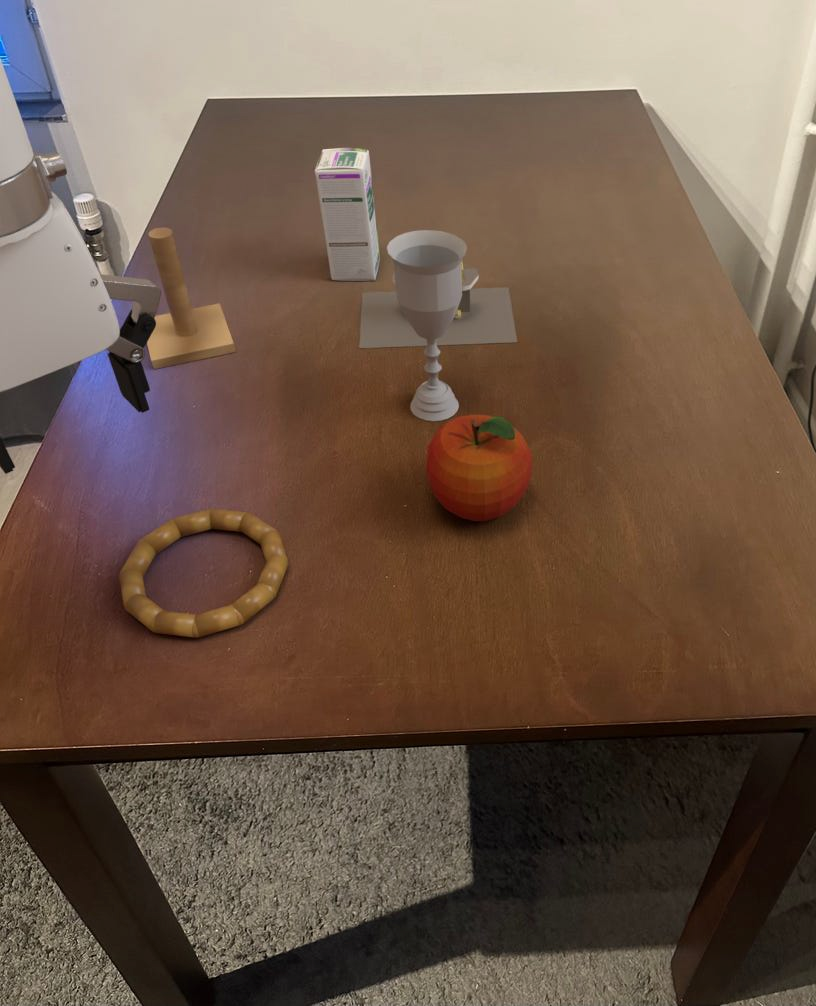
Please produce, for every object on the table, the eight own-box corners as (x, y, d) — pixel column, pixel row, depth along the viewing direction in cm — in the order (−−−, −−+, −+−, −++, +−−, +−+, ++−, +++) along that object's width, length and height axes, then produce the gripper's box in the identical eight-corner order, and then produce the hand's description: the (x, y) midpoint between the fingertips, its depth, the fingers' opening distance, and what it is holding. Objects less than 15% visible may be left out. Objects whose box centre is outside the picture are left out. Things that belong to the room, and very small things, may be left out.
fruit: (461, 454, 87) (459, 371, 80) (547, 488, 84) (553, 404, 77) (407, 514, 82) (400, 429, 75) (497, 552, 78) (499, 468, 71)
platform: (517, 342, 101) (519, 291, 97) (359, 348, 101) (353, 297, 96) (508, 287, 110) (509, 238, 105) (362, 292, 109) (357, 243, 105)
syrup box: (376, 281, 111) (365, 167, 101) (329, 281, 111) (313, 167, 101) (380, 259, 115) (370, 147, 105) (335, 258, 115) (320, 147, 105)
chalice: (478, 393, 94) (477, 237, 82) (456, 432, 90) (451, 273, 77) (414, 380, 96) (404, 225, 84) (389, 418, 92) (374, 259, 79)
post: (153, 369, 98) (119, 260, 88) (144, 327, 104) (111, 221, 94) (235, 352, 100) (210, 244, 91) (221, 311, 106) (197, 206, 97)
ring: (133, 661, 70) (127, 647, 69) (116, 543, 79) (111, 529, 78) (303, 611, 73) (300, 597, 72) (269, 504, 82) (265, 490, 81)
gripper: (92, 137, 56) (160, 360, 68) (-212, 222, 48) (-75, 459, 60) (147, 175, 52) (209, 405, 64) (-175, 275, 44) (-36, 518, 56)
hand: (71, 431), depth 62 cm, fingers open, 9 cm apart
